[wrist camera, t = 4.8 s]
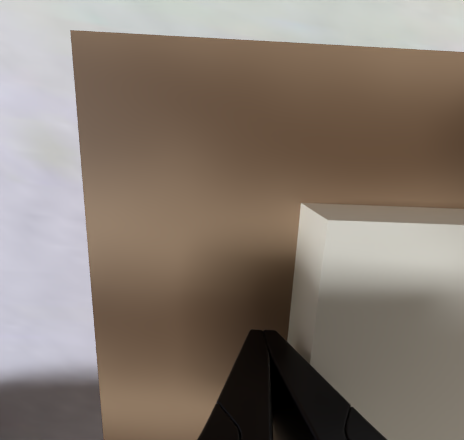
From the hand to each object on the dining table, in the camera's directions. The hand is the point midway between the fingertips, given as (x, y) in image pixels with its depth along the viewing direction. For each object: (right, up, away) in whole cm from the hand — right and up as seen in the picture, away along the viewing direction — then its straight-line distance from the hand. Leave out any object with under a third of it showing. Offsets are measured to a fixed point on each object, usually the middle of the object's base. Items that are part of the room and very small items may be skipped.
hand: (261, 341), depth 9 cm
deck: (+1, +1, +5) cm, 5 cm away
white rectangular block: (+4, 0, 0) cm, 4 cm away
